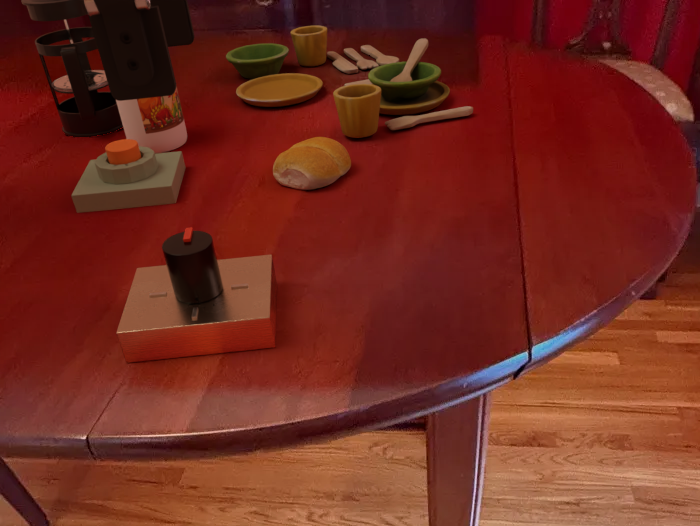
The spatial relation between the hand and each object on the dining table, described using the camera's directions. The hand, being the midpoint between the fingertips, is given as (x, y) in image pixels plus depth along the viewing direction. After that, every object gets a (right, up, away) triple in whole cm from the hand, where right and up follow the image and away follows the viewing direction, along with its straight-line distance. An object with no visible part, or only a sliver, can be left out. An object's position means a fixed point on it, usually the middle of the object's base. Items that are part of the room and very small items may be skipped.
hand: (158, 68), depth 40 cm
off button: (-16, +7, +42) cm, 45 cm away
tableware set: (+7, +24, +67) cm, 71 cm away
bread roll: (+5, +6, +44) cm, 45 cm away
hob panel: (-2, -13, +22) cm, 25 cm away
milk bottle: (-16, +13, +55) cm, 59 cm away
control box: (-16, +4, +44) cm, 47 cm away
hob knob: (-2, -10, +20) cm, 23 cm away
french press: (-27, +17, +62) cm, 70 cm away
